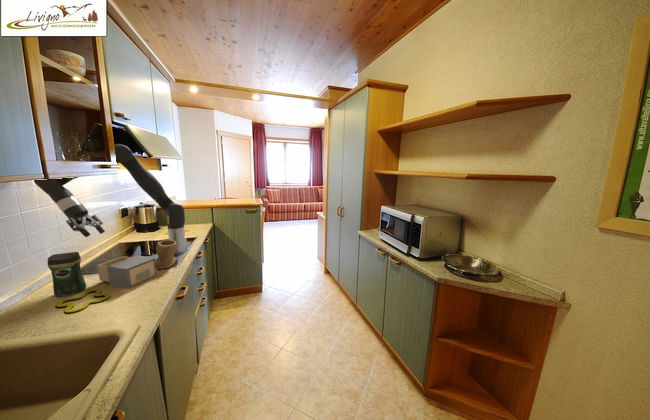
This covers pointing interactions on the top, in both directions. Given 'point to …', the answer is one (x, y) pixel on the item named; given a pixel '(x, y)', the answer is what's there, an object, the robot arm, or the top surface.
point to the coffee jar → (66, 273)
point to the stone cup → (166, 254)
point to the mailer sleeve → (120, 271)
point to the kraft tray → (135, 273)
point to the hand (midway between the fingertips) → (95, 234)
